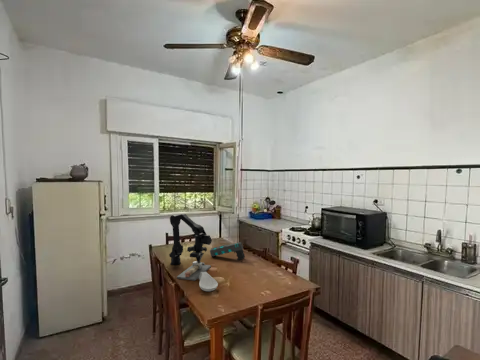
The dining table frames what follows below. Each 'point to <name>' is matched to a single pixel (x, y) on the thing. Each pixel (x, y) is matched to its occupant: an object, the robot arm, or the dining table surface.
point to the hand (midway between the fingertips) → (198, 263)
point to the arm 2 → (193, 270)
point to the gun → (229, 250)
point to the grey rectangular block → (197, 264)
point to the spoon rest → (207, 282)
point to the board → (195, 274)
